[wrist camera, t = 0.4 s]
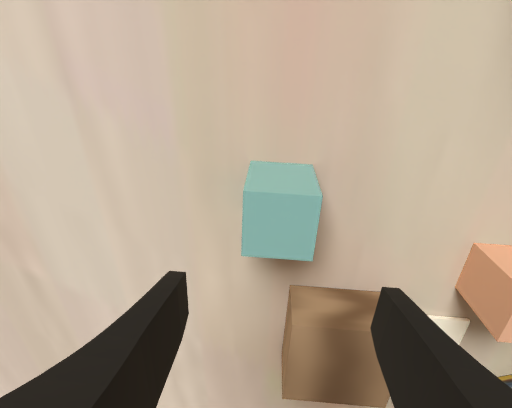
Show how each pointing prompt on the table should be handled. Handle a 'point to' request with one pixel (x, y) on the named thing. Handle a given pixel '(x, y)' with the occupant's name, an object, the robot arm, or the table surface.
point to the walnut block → (331, 348)
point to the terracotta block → (489, 287)
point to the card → (452, 326)
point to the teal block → (280, 211)
